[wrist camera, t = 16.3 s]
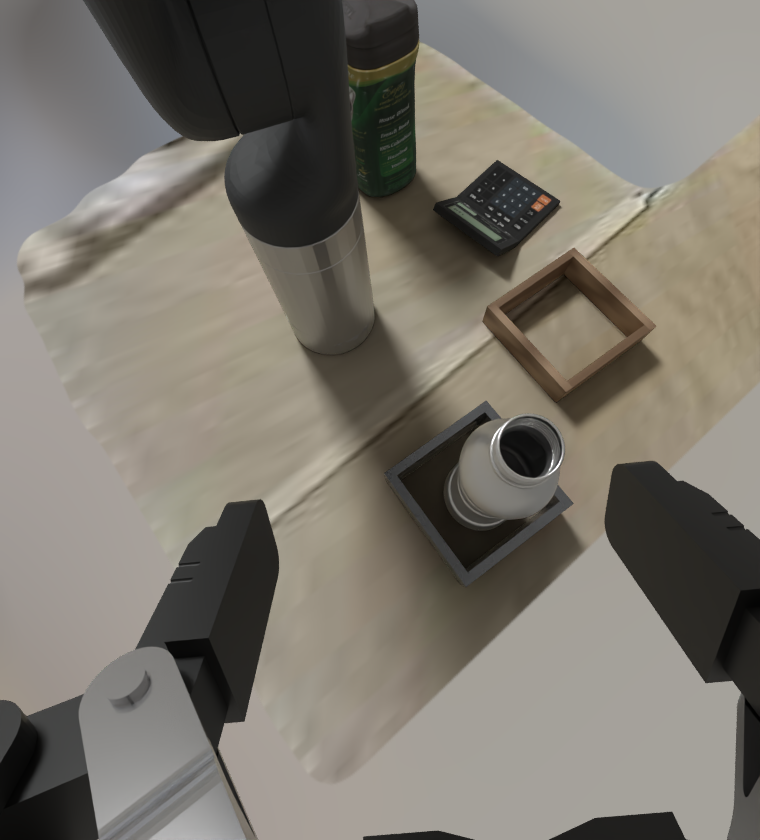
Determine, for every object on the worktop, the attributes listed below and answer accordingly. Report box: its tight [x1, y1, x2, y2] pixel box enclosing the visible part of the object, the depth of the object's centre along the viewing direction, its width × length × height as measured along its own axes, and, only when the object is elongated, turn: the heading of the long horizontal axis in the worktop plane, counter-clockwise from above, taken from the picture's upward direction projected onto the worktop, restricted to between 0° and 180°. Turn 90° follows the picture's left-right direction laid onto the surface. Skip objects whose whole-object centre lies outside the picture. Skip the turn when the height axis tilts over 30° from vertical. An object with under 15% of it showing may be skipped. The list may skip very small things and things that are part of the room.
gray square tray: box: [384, 401, 574, 587], centre depth 41 cm, size 12×12×4 cm
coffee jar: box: [342, 0, 419, 197], centre depth 46 cm, size 10×8×19 cm
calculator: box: [433, 160, 560, 256], centre depth 51 cm, size 9×12×3 cm
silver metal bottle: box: [443, 413, 565, 531], centre depth 33 cm, size 6×7×20 cm
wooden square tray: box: [483, 248, 656, 403], centre depth 46 cm, size 12×12×3 cm
